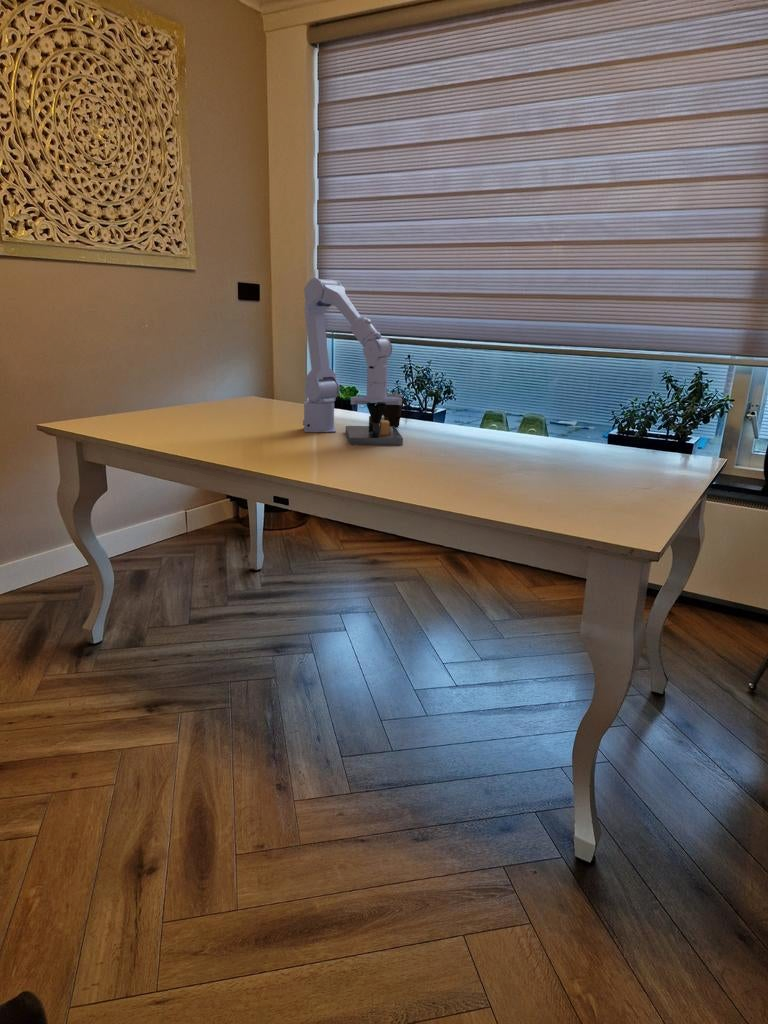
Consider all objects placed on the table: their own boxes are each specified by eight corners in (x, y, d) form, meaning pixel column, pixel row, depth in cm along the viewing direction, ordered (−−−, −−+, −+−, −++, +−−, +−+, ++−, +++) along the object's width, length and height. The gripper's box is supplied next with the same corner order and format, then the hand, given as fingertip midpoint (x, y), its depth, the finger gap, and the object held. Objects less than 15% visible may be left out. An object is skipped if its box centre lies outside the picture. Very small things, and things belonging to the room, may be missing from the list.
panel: (349, 444, 185) (350, 423, 183) (345, 432, 202) (345, 412, 200) (402, 445, 187) (403, 424, 185) (394, 432, 204) (394, 413, 202)
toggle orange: (380, 434, 190) (381, 422, 189) (379, 431, 194) (379, 420, 193) (389, 434, 190) (389, 422, 189) (387, 432, 194) (387, 420, 193)
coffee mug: (372, 424, 217) (373, 393, 213) (397, 423, 219) (398, 393, 216) (383, 431, 206) (384, 398, 203) (409, 430, 209) (410, 398, 205)
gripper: (352, 383, 183) (351, 432, 187) (404, 384, 184) (402, 432, 188) (350, 380, 189) (349, 427, 193) (400, 381, 191) (398, 427, 195)
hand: (375, 429), depth 191 cm, fingers closed
